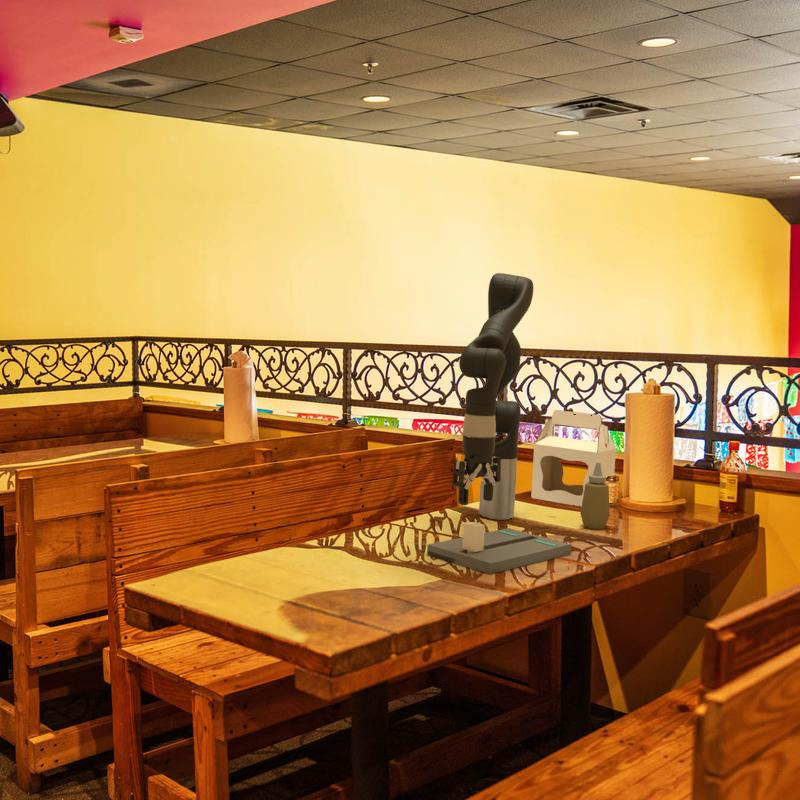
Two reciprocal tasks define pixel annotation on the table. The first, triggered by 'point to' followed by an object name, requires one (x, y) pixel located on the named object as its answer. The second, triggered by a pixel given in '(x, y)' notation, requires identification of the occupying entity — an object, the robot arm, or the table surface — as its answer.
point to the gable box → (569, 457)
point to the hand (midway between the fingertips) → (475, 502)
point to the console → (501, 551)
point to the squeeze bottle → (595, 501)
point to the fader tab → (473, 537)
